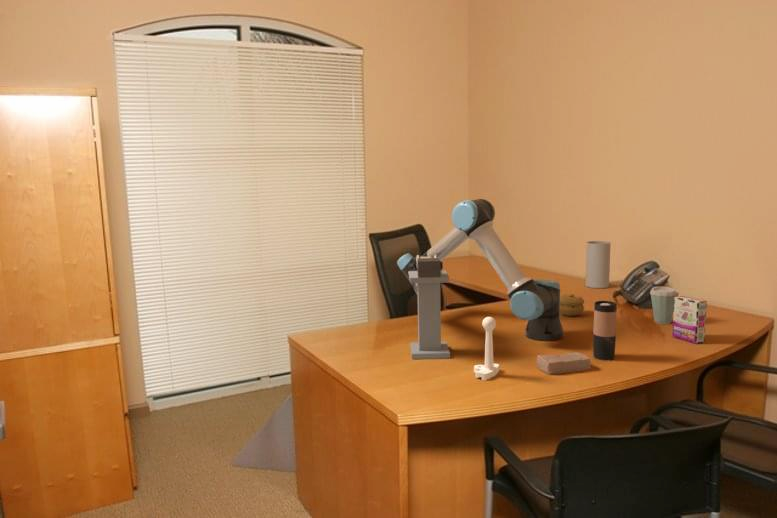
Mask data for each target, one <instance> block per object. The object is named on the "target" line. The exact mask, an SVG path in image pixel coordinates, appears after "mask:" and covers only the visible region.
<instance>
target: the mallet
mask: <svg viewBox="0 0 777 518" xmlns="http://www.w3.org/2000/svg"><path fill="white" fill-rule="evenodd" d="M419 257H420V256H419ZM417 273H418V278H432V277H441V267H440V259H439V258H431V257H420V258H417Z"/></svg>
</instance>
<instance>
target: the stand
mask: <svg viewBox="0 0 777 518" xmlns="http://www.w3.org/2000/svg"><path fill="white" fill-rule="evenodd" d="M409 279H410V281H409V284H411V283H417V293H418V294H417V331H418V332H417V335H418V337H417V339H418V340H417V341H418V342H417V341H416V342H410V355H411V360H430V359H433V360H435V359H440V360H441V359H442V360H443V359H451V352H450V349H449V346H448V342H447V341H442V333H441V332H442V329H441V328H442V327H441V326H442V323H441V322H442V321H441V316H442V315H441V311H442V310H441V284H442V283H443V284H444V283H450V276H449V275H448V273H447V271H446V270H445V269H442V270H441V277H432V278H418V273H417V271H409Z"/></svg>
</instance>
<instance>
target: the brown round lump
mask: <svg viewBox="0 0 777 518" xmlns="http://www.w3.org/2000/svg"><path fill="white" fill-rule="evenodd" d="M584 304H585V300H584V299H583V297H581V296H580V295H576V294H573V293H569V294H564V295H560V312H559V314H562V315H564V316H567V317H576V316H577V317H578V316H579V315H581V314H582V313H583V312H584V310H585V306H584Z"/></svg>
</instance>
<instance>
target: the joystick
mask: <svg viewBox="0 0 777 518" xmlns="http://www.w3.org/2000/svg"><path fill="white" fill-rule="evenodd" d="M481 325H482V327H483V329H484V331H485V345H484V364H476V365H473V373H475V378H477V379H479V378H481V380H482V381H488V380H490V378H491V377H493V376H494V377H496V376H497V375H498V374H499V372H500V364H499V363H494V344H493V341H494V339H493V331H494V329H495V328H496V326H497V323H496V319H495V318H494V317H492V316H487V317H485V318H484V319H483V320H482V323H481ZM497 373H498V374H497ZM496 374H497V375H496ZM495 375H496V376H495ZM494 377H493V378H494ZM487 379H488V380H487ZM491 379H492V378H491Z"/></svg>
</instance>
